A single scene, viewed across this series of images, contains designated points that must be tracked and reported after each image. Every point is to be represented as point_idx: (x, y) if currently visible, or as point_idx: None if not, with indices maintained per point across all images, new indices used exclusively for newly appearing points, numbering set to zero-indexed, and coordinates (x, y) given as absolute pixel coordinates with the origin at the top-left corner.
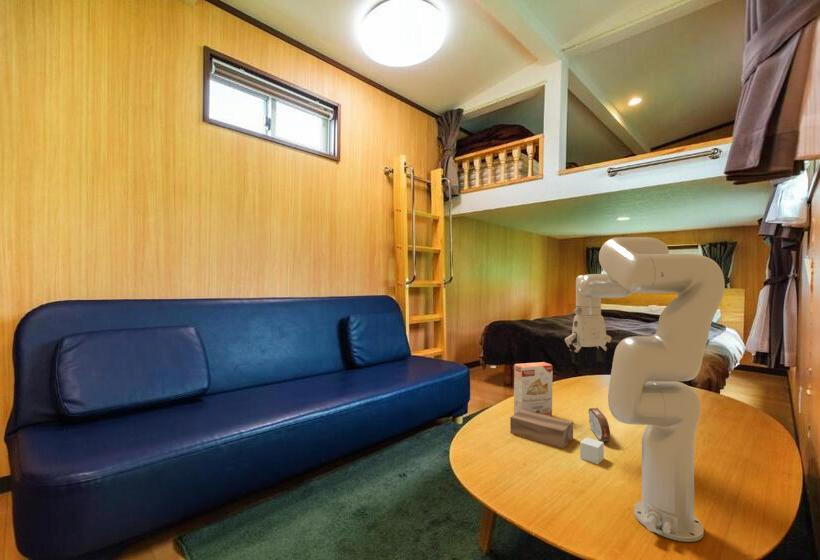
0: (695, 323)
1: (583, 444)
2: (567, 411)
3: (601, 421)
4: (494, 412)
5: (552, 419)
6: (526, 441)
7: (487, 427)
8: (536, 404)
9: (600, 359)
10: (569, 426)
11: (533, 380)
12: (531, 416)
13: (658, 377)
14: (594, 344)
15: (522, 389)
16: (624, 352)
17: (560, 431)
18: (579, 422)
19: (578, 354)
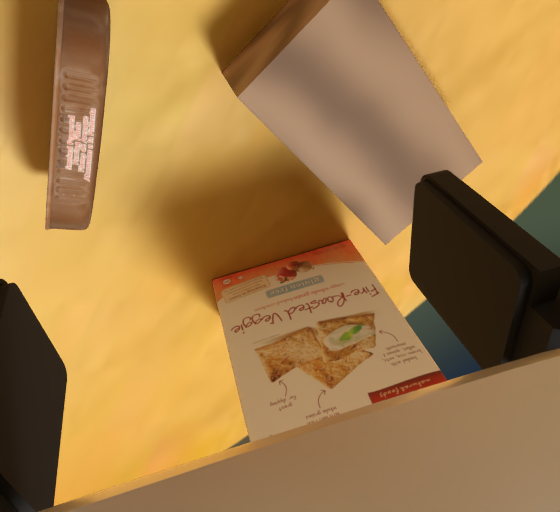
0: None
1: None
2: (118, 336)
3: (96, 33)
4: (401, 300)
5: (323, 131)
6: (431, 54)
7: (493, 181)
8: (304, 293)
9: (30, 343)
10: (276, 52)
11: (363, 371)
12: (396, 167)
13: None
14: (323, 470)
15: (404, 323)
16: None
17: None
18: (112, 237)
19: (540, 243)
